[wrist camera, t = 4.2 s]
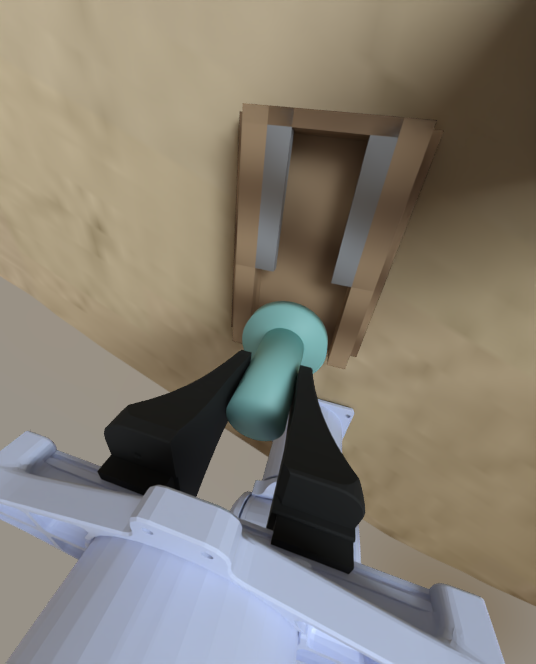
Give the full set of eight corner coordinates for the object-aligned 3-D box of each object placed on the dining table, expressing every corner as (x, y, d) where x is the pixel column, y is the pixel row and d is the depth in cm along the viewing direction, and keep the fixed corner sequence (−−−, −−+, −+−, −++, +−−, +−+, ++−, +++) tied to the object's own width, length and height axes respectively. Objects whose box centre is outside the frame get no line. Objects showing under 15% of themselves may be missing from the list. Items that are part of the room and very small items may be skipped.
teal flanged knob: (315, 379, 18) (301, 473, 12) (243, 358, 19) (198, 437, 13) (338, 313, 15) (334, 396, 9) (251, 291, 16) (197, 355, 10)
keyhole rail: (355, 350, 23) (357, 372, 20) (235, 322, 25) (222, 338, 22) (438, 133, 14) (459, 122, 12) (245, 115, 16) (225, 101, 14)
